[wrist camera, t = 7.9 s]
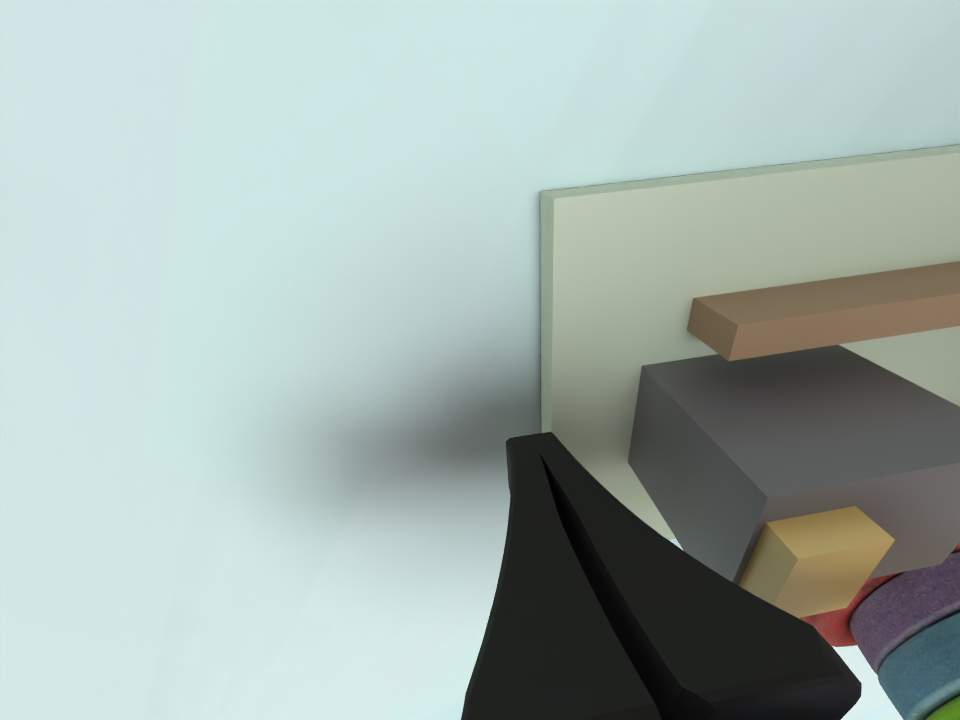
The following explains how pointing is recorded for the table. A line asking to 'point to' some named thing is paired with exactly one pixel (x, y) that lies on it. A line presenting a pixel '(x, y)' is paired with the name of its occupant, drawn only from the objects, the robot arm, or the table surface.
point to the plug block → (799, 471)
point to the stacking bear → (907, 636)
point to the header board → (742, 284)
